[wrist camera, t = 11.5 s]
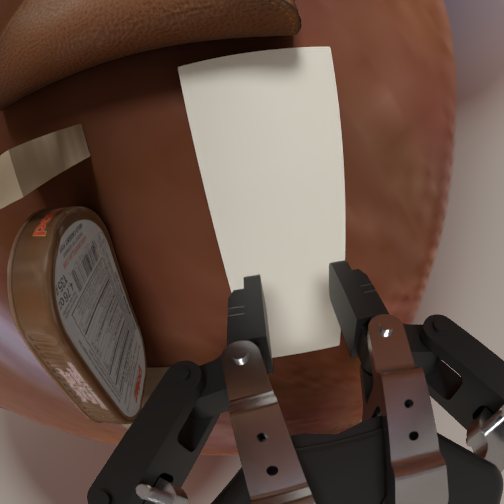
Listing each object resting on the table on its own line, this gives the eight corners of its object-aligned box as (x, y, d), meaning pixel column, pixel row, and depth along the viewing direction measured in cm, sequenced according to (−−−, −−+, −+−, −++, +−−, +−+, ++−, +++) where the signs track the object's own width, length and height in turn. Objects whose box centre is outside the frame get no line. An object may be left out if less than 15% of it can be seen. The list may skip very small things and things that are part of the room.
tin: (65, 186, 13) (-28, 266, 6) (108, 179, 14) (15, 266, 6) (126, 354, 21) (104, 438, 14) (159, 356, 21) (143, 446, 14)
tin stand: (24, 153, 12) (-42, 189, 7) (81, 123, 12) (8, 149, 6) (143, 379, 23) (132, 433, 18) (191, 378, 23) (185, 436, 18)
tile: (180, 68, 11) (177, 67, 10) (325, 49, 10) (330, 46, 10) (250, 352, 21) (251, 360, 21) (336, 337, 21) (339, 345, 20)
